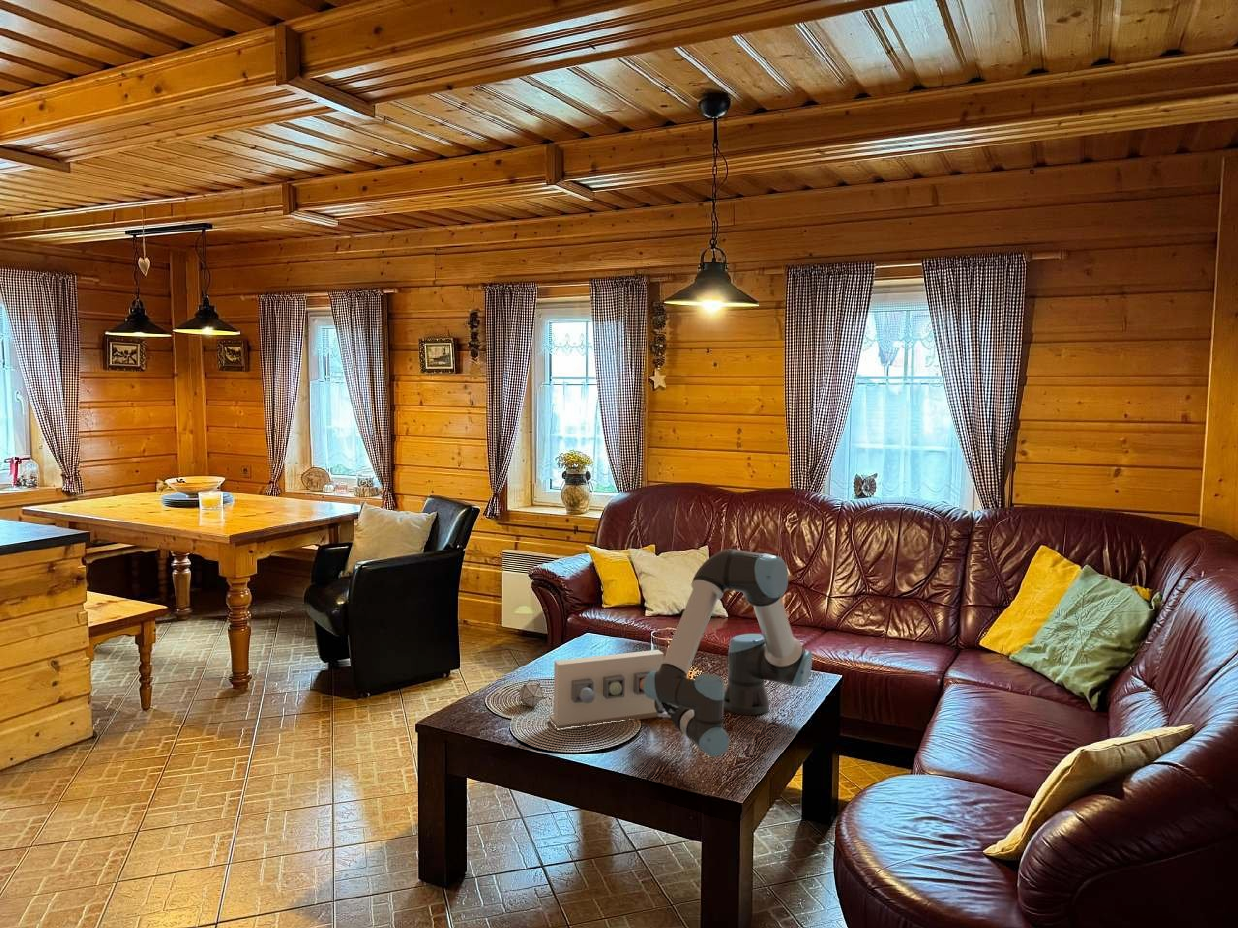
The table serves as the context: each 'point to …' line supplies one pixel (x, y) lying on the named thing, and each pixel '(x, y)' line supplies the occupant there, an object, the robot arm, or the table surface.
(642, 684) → the terracotta button
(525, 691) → the game die
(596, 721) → the button panel
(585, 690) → the slate button
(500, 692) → the table surface
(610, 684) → the sage button
